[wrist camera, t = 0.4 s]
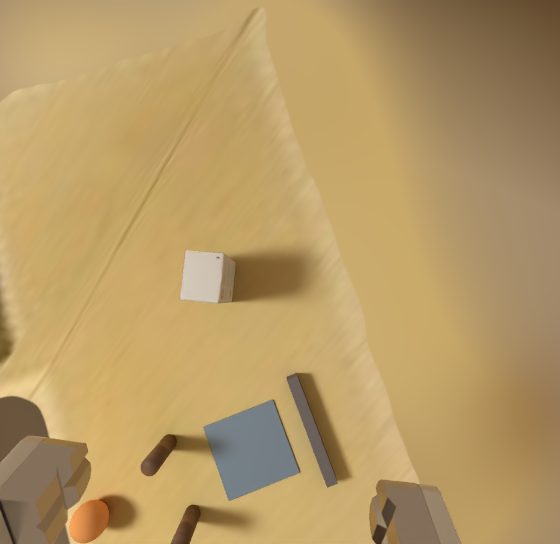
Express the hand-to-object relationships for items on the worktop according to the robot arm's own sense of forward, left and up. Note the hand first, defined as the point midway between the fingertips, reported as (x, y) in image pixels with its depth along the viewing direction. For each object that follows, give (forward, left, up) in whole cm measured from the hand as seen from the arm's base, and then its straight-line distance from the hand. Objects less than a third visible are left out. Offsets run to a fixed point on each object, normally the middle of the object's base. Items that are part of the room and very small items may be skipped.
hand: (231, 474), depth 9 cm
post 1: (-13, +26, -53) cm, 61 cm away
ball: (-20, +42, -50) cm, 68 cm away
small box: (+12, +7, -53) cm, 55 cm away
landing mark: (-20, +12, -53) cm, 58 cm away
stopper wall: (-20, 0, -53) cm, 57 cm away
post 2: (-27, +26, -53) cm, 65 cm away
